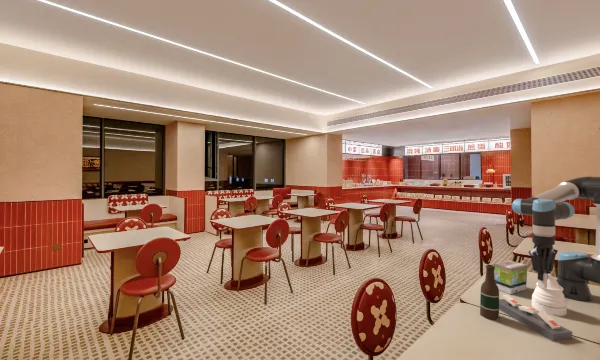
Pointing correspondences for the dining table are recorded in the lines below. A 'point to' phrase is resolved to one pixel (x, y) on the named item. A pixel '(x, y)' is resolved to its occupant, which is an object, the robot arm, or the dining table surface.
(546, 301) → the honey pot
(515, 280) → the tea box
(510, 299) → the rocker
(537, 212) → the robot arm
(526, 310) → the middle rocker
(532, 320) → the power strip
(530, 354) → the dining table surface
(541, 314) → the end rocker
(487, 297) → the beer bottle
